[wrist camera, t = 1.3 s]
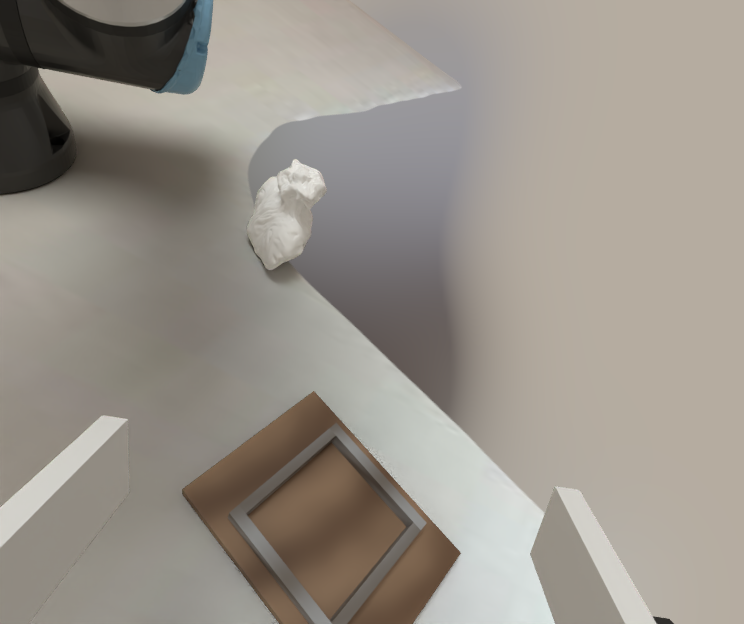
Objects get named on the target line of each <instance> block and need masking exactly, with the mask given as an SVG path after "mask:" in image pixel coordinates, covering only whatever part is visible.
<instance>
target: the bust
mask: <svg viewBox="0 0 744 624" xmlns="http://www.w3.org/2000/svg"><path fill="white" fill-rule="evenodd" d="M326 191H327V189H326V186H325V183H324V179H323V176H322V174H321V173H320V172H319V171H318V170H316V169H314V168H310V167H308V166H307V165H303V164H301V163H299V161H298V160H297V159H294V160H293V162H292V165H291V166H290V167H289V168H287V169H285V170H283V171H280V172H279V174H278V175H277V177H270V178H269V179H268V180H267V181H266V182H265V183H264V184H263V186H262V187H261V188H260V189H259V190H258V192H257V196H256V197H257V198H256V202H255V207H254V214H253V215H252V217H251V219H250V221H249V223H248V225H247V234H248V237H249V239H250V241H251V243H252V245H253V247H254V251H255V253H256V254H257V255H258V256H259V257H260V258H261V260H262V262H263V264H264V266H265V268H266V269H268V270H273V269H275V268H276V267H278V266H279V265H281V264H282V263H283V262H287V261H289V260H292V259H293V258H296V257H298V256H299V255H301V254H302V252H303V249H304V248H305V246H306V244H307V241H308V239H309V238H310V236H311V227H312V221H313V216H312V212H311V211H310V208H312V206H313V205H314V204H315V203H316V202H317V201H319V200H320V198H321V197H322V196H324V194H325V193H326Z"/></svg>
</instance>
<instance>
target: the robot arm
mask: <svg viewBox="0 0 744 624" xmlns="http://www.w3.org/2000/svg"><path fill="white" fill-rule="evenodd" d="M212 11H213V0H0V194H2V193H11V192H18V191H23V190H27V189H31V188H35V187H38V186H41V185H43V184H46V183H48V182H50V181H52V180H54V179H56V178H57V177H59V176H60V175H62V174H63V173H64V172H65V171H66V170H67V169H68V168H69V167H70V166H71V165H72V163H73V161H74V159H75V156H76V145H75V140H74V135H73V131H72V128H71V125H70V123H69V121H68V119H67V118H66V116H65V114H64V113H63V111H62V110H61V108H60V106H59V105H58V103H57V102H56V100H55V99H54V97H53V95H52V94H51V92H50V91H49V89H48V87H47V86H46V84H45V83H44V81H43V79H42V78H41V76H40V74H39V70H38V68H42V69H49V70H54V71H59V72H64V73H69V74H74V75H80V76H85V77H90V78H95V79H100V80H105V81H110V82H116V83H121V84H126V85H131V86H136V87H141V88H147V89H150V90H151V91H153V92H156V93H164V92H169V93H177V94H190V93H193V92H194V91H196V90H197V89H198V87H199V86H200V84H201V81H202V78H203V74H204V70H205V66H206V60H207V51H208V48H207V45H208V43H209V38H210V32H211V23H212ZM129 493H130V489H129V443H128V419H124V418H118V417H111V416H105V415H102V416H101V417H100V418H99V419H98V420H97V421H95V422H94V423H93V424H92V425H91V426H90V427H89V428H88V429H87V430H85V431H84V432H83V433H82V434H81V435H80V436H79V437H78V438H77V439H75V440H74V441H73V442H72V443H71V444H70V445H69V446H68V447H67V448H66V449H64V450H63V451H62V452H61V453H60V454H59V455H58V456H57V457H56V458H54V459H53V460H52V461H51V462H50V463H49V464H48V465H47V466H46V467H44V468H43V469H42V470H41V471H40V472H39V473H38V474H37V475H36V476H35V477H33V478H32V479H31V480H30V481H29V482H28V483H27V484H26V485H25V486H23V487H22V488H21V489H20V490H19V491H18V492H17V493H16V494H15V495H13V496H12V497H11V498H10V499H9V500H8V501H7V502H6V503H5V504H3V505H2V506H1V507H0V624H29V622H30V621H31V620H32V618H33V617H34V616H35V614H36V613H37V612H38V611H39V609H40V608H41V607H42V605H43V604H44V603H45V602H46V600H47V599H48V598H49V596H50V595H51V594H52V592H53V591H54V590H55V589H56V587H57V586H58V585H59V583H60V582H61V581H62V579H63V578H64V577H65V576H66V574H67V573H68V572H69V570H70V569H71V568H72V566H73V565H74V564H75V563H76V561H77V560H78V559H79V557H80V556H81V555H82V554H83V552H84V551H85V550H86V548H87V547H88V546H89V544H90V543H91V542H92V541H93V539H94V538H95V537H96V535H97V534H98V533H99V531H100V530H101V529H102V528H103V526H104V525H105V524H106V522H107V521H108V520H109V519H110V517H111V516H112V515H113V513H114V512H115V511H116V509H117V508H118V507H119V506H120V504H121V503H122V502H123V500H124V499H125V498H126V496H127V495H128V494H129ZM530 555H531V558H532V560H533V563H534V566H535V569H536V571H537V574H538V577H539V580H540V583H541V585H542V588H543V591H544V594H545V596H546V599H547V602H548V605H549V608H550V610H551V613H552V616H553V619H554V621H555V624H674V623H673V622H672V621H671V620H670V619H666V618H660V617H653V616H652V615H651V613H650V611H649V610H648V608H647V606H646V604H645V603H644V601H643V600H642V598H641V596H640V594H639V593H638V591H637V589H636V587H635V585H634V584H633V582H632V580H631V579H630V577H629V575H628V573H627V572H626V570H625V568H624V566H623V565H622V563H621V561H620V559H619V558H618V556H617V554H616V553H615V551H614V549H613V548H612V546H611V544H610V542H609V541H608V539H607V537H606V535H605V534H604V532H603V530H602V528H601V527H600V525H599V523H598V521H597V520H596V518H595V516H594V515H593V513H592V511H591V509H590V508H589V506H588V504H587V503H586V501H585V499H584V497H583V496H582V494H581V492H580V491H579V490H576V489H569V488H563V487H557V486H555V487H554V490H553V493H552V496H551V498H550V501H549V504H548V507H547V509H546V512H545V515H544V518H543V520H542V523H541V526H540V528H539V531H538V534H537V537H536V539H535V542H534V545H533V548H532V550H531V553H530Z"/></svg>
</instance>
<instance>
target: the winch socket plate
mask: <svg viewBox="0 0 744 624" xmlns="http://www.w3.org/2000/svg"><path fill="white" fill-rule="evenodd" d="M182 494H183V496H184V497H185V498H186V500H187V501H188V502H189V504H190V505H191V506H192V508H193V509H194V510H195V512H196V513H197V514H198V516H199V517H200V518H201V520H202V521H203V522H204V524H205V525H206V526H207V528H208V529H209V530H210V532H211V533H212V534H213V536H214V537H215V538H216V540H217V541H218V542H219V544H220V545H221V546H222V548H223V549H224V550H225V552H226V553H227V554H228V556H229V557H230V558H231V560H232V561H233V562H234V564H235V565H236V566H237V568H238V569H239V570H240V572H241V573H242V574H243V576H244V577H245V578H246V580H247V581H248V582H249V584H250V585H251V586H252V588H253V589H254V590H255V592H256V593H257V594H258V596H259V597H260V598H261V600H262V601H263V602H264V604H265V605H266V606H267V608H268V609H269V610H270V612H271V613H272V614H273V616H274V617H275V618H276V620H277V621H278V622H279V624H413V622H414V621H415V619H416V618H417V616H418V615H419V613H420V612H421V610H422V609H423V608H424V606H425V605H426V603H427V602H428V600H429V599H430V597H431V596H432V594H433V593H434V592H435V590H436V589H437V587H438V586H439V584H440V583H441V581H442V580H443V578H444V577H445V575H446V574H447V573H448V571H449V570H450V568H451V567H452V565H453V564H454V562H455V561H456V559H457V558H458V556H459V555H460V554H461V553H460V552H459V550H458V549H457V548H456V547H455V546H454V545H453V544H452V543H451V542H450V540H449V539H448V538H447V537H446V536H445V535H444V534H443V533H442V532H441V531H440V529H439V528H438V527H437V526H436V525H435V524H434V523H433V522H432V521H431V520H430V518H429V517H428V516H427V515H426V514H425V513H424V512H423V511H422V510H421V509H420V507H419V506H418V505H417V504H416V503H415V502H414V501H413V500H412V499H411V498H410V496H409V495H408V494H407V493H406V492H405V491H404V490H403V489H402V488H401V486H400V485H399V484H398V483H397V482H396V481H395V480H394V479H393V478H392V477H391V475H390V474H389V473H388V472H387V471H386V470H385V469H384V468H383V467H382V466H381V464H380V463H379V462H378V461H377V460H376V459H375V458H374V457H373V456H372V455H371V453H370V452H369V451H368V450H367V449H366V448H365V447H364V446H363V445H362V444H361V442H360V441H359V440H358V439H357V438H356V437H355V436H354V435H353V434H352V433H351V431H350V430H349V429H348V428H347V427H346V426H345V425H344V424H343V423H342V421H341V420H340V419H339V418H338V417H337V416H336V415H335V414H334V413H333V412H332V410H331V409H330V408H329V407H328V406H327V405H326V404H325V403H324V402H323V401H322V399H321V398H320V397H319V396H318V395H317V394H316V393H315V392H314V391H313V392H312V393H311V394H309V395H308V396H307V397H305V398H304V399H303V400H301V401H300V402H299V403H297V404H296V405H295V406H293V407H292V408H291V409H289V410H288V411H287V412H285V413H284V414H283V415H281V416H280V417H278V418H277V419H276V420H274V421H273V422H272V423H270V424H269V425H268V426H266V427H265V428H264V429H262V430H261V431H260V432H258V433H257V434H256V435H254V436H253V437H252V438H250V439H249V440H248V441H246V442H245V443H244V444H242V445H241V446H240V447H238V448H237V449H236V450H234V451H233V452H232V453H230V454H229V455H228V456H226V457H225V458H224V459H222V460H221V461H220V462H218V463H217V464H216V465H214V466H213V467H212V468H210V469H209V470H207V471H206V472H205V473H203V474H202V475H201V476H199V477H198V478H197V479H195V480H194V481H193V482H191V483H190V484H189V485H187V486H186V487H185V488H183V489H182Z"/></svg>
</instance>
